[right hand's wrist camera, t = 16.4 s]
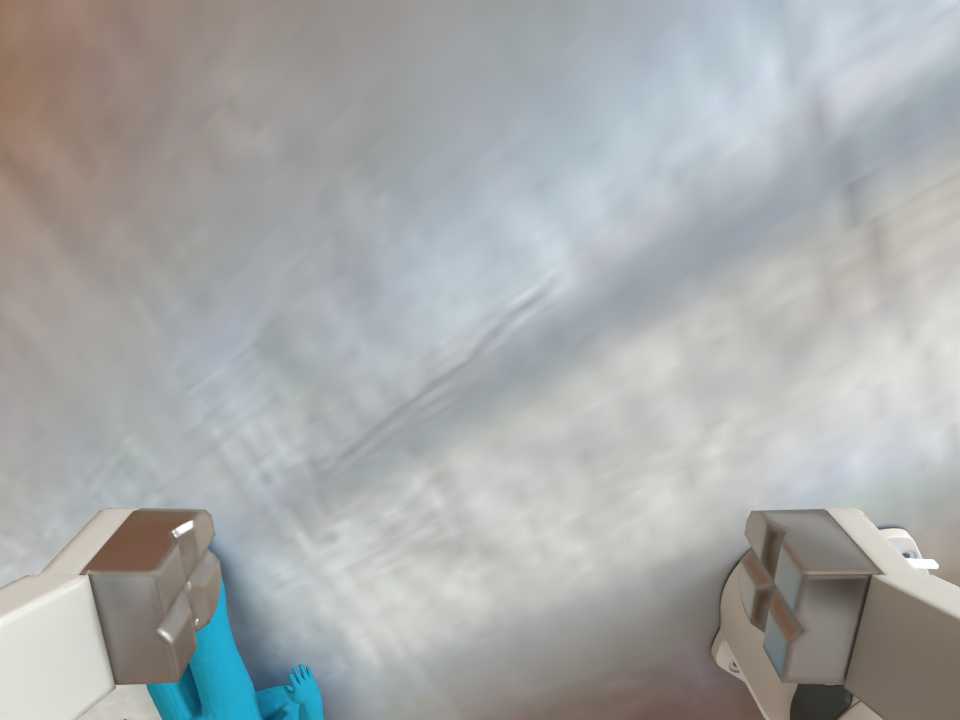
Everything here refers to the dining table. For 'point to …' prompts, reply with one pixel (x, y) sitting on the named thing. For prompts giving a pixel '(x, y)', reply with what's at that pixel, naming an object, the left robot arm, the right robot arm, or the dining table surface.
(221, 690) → the toy
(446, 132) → the dining table surface
